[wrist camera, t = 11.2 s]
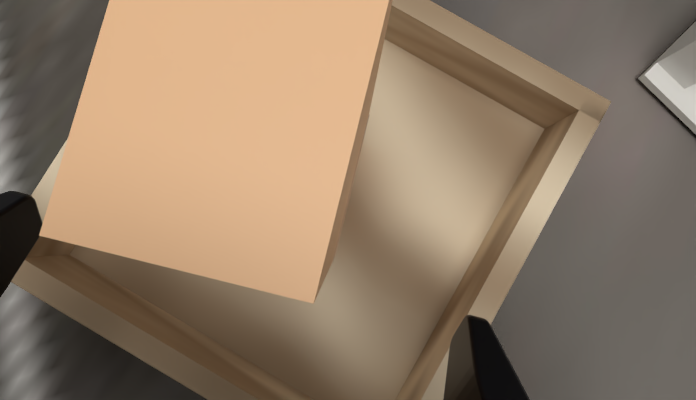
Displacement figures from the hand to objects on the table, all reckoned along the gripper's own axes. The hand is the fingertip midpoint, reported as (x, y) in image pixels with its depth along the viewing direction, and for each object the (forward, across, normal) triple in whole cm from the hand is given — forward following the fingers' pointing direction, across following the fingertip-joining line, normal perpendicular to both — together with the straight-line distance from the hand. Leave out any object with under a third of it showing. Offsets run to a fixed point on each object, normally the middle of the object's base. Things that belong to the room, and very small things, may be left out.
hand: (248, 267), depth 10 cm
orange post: (+8, 0, +4) cm, 9 cm away
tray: (+8, 0, +4) cm, 9 cm away
